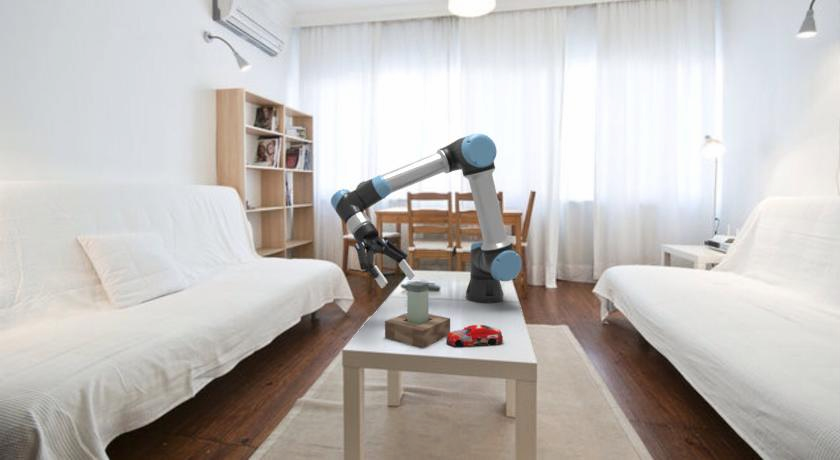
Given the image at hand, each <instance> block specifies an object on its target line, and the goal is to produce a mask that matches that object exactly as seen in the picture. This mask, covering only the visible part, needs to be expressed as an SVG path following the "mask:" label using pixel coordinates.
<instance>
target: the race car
mask: <svg viewBox="0 0 840 460" xmlns="http://www.w3.org/2000/svg"><path fill="white" fill-rule="evenodd" d="M502 333H503V332H502V331H501V330H500V329H499V328H497V327H494V326H490V325H486V324H471V325H469V326H468V325H467V326H466V327H463V329H458V330H454V331H450V333H449V334H448V335H447V336H446V337H445V339H446V343H448V344H449V345H451V346H455V347H456V348H462V347H463V346H464V347H471V346H487V345H488V346H491V345H492V346H493V345H494V346H496V345H498V344H501V343H503V341H504V337H503V334H502Z"/></svg>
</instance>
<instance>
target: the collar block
mask: <svg viewBox="0 0 840 460" xmlns="http://www.w3.org/2000/svg"><path fill="white" fill-rule="evenodd" d="M450 332H451V317H447V316H441V315H437V314H432V313H428V322H425V323H423V324H421V325H420V324H416V323H411V322H407V312H406V313H403V314H400V315H398V316H395V317H392V318H389V319H387V320H385V321H384V338H385V339H389V340H392V341H396V342H400V343H403V344H407V345H410V346H414V347H418V348H422V349H424V348H426V347H428V346H430V345H432V344H434V343H436V342H438V341H439V340H442V339H444V338H446V337H447V335H448V334H449V333H450Z"/></svg>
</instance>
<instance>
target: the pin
mask: <svg viewBox="0 0 840 460" xmlns="http://www.w3.org/2000/svg"><path fill="white" fill-rule="evenodd" d="M429 285H430V284H429V283H428V282H422V281H414V282H413V281H412V282H410V283H407V284H406V286H407V287H406V290H407V291H406V292H407V293H406V297H407V298H406V299H407V300H406V303H407V305H406V307H407V308H406V310H407V312H406V313H407V322H411V323H416V324H420V325H421V324H423V323H425V322H428V314H429Z"/></svg>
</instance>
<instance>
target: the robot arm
mask: <svg viewBox="0 0 840 460" xmlns="http://www.w3.org/2000/svg"><path fill="white" fill-rule="evenodd" d="M496 157H497V147H496V143H495V142H494V140H493V139H492V138H491V137H489V136H488V135H486V134H484V133H473V134H470V135H469V134H468V135H467V136H464V137H461V138H458V139H456V140H454V141H453V142H451V143H449V144H448V145H447V144H446V146H444V147H442V148H439V149H437V151H436V153H434V154H431V155H429V156H425V157H423V158H421V159H418V160H416V161H413V162H411V163H408V164H406V165H404V166H401V167H398V168H396V169H393V170H391V171H389V172H385V173H383V174H378V175H377V176H375V177H373V178H371V179H368V180H366V181H365V180H363V181H362V182H359V183H358V185H356V188H355V189H354V190H352V191H350V190H349V189H344V188H342V189H340V190H338V191H336V192H335V193H334V194H333V195H332V196H331V198H330V204H331V206H332V207H333V209H334V211H335V212H336V214H337V215H338V217H339V219H341V222H343V224H344V226H346V227H347V229H348V230H349V232H350V234H351V236H353V238H354V240H355V241H356V243H355V245H354V249H355V250H356V253H357V258H358V262H359V267H360V270H362V271H364V272H365V273H370V275H371V277H372V278H373V279H374V280H375V281H376V283H377V284H378V285H379V287H380V288H381V289H384V288H385V287H386V285H387V284H388V283H389V282H388V280H387V278H386V277H385V276H384V274H383V273H382V272H381V270H380V269H379V267H378V266H377V265H374V258H375V255H376V254H381V255H385V256H387V257H388V258H390V259H392V260H393V261H395V262H396V263H398V266H399V268H400V269H401V271H402V272H403V274H404V275H405V276H406V277H407V279H408V280H409V281H411V280H412V279H413V278H414V277H416V273H415V271H414V270H413V269H412V268H411V265H410V264H409V263H408V262H407V260H406V259H407V258H408V254H407V253H405V252H404V251H403V250H402V249H400V248H399V247H398V246H397V245H395V244H394V243H393V242H392V241H391V240H390V239H389V237H388V236H384V238H381V237H379V230H378V229H377V228H376V226H375V225H374V223H372V222H373V221H372V220H371V219H370V217H369V216H368V215H367V213H366V212H365V211H366V210H368V209H369V208H371V207H372V206H374V205H375V204H377V203H379V202H381V201H382V200H385V199H386V197H388V196H390V195H391V194H393V193H395V192H398V191H400V190H402V189H405V188H407V187H410V186H412V185H415V184H417V183H421V182H422V181H425V180H427V179H430V178H433V177H435V176H437V175H440V174H442V173H445V174H449V173H451V172H455V171H459V170H462V171H461V172H462V177H464V178H465V179H466V180H468V183H469V187H470V191H471V194H472V198H473V199H472V200H473V202H474V208H475V211H476V215H477V220H478V224H479V229H480V233H481V237H482V241H483V242H482V241H480V242H476V241H475V242H472V243H471V244H470V251H469V252H470V270H469V271H470V279H469V282H468V285H467V288H466V290H465V299H467V300H469V301H471V302H477V303H485V304H486V303H490V304H491V303H499V302H501V301H504V291H503V287H502V284H501V282H510V281H512V280H514V279H515V278H517V276H518V275H519V274H520V272H521V270H522V267H523V266H522V265H523V262H522V258H521V256H520V255H519V254H518V252H516V251H515V249H514V244H513V241H512V240H511V239H510V238H508V236H507V233H506V229H505V225H504V219H503V216H502V211H501V207H500V203H499V198H498V194H497V189H496V185H495V182H494V181H495V180H494V176H493V173H494V172H495V169H496V166H495V165H496V164H495V159H496Z"/></svg>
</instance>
